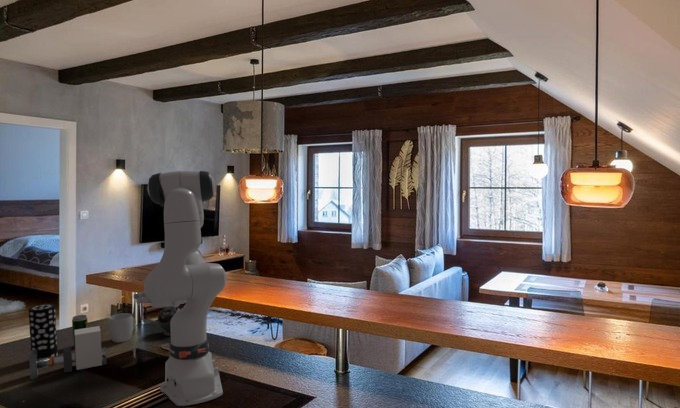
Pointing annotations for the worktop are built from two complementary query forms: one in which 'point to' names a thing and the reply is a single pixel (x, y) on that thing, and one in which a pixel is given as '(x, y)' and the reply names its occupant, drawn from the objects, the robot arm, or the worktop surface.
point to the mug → (121, 327)
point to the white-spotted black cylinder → (43, 330)
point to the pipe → (51, 361)
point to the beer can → (78, 324)
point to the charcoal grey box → (67, 359)
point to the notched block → (88, 347)
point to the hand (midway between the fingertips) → (134, 298)
